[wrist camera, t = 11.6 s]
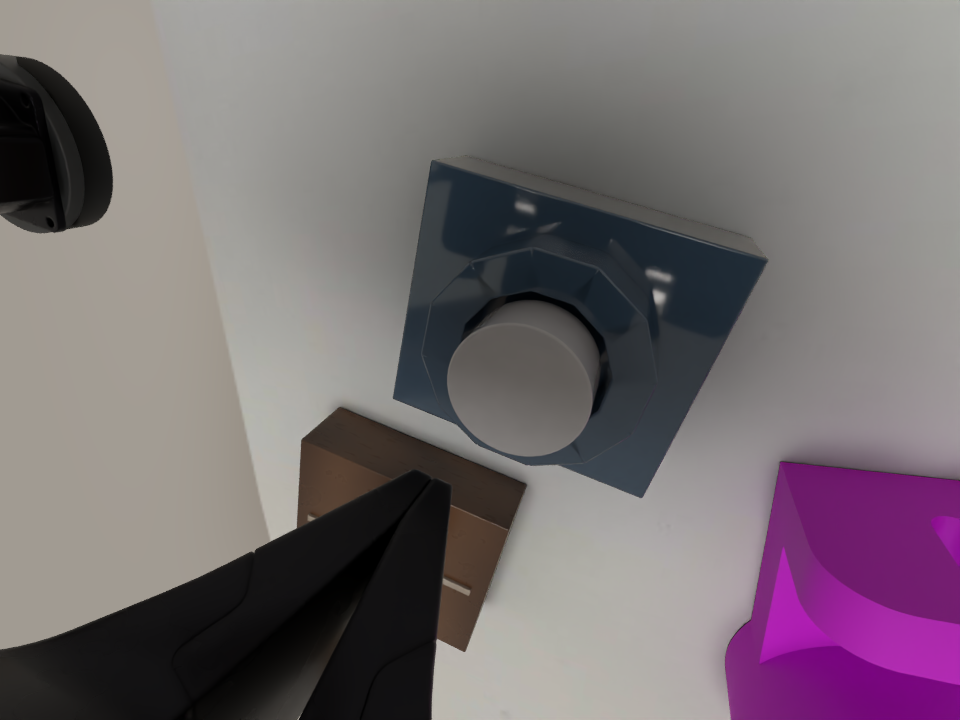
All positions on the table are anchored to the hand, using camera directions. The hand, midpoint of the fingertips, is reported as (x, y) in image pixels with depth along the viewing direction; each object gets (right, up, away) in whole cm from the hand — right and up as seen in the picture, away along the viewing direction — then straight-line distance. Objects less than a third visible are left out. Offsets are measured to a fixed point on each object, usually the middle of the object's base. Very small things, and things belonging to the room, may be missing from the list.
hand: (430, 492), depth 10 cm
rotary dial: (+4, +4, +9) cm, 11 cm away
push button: (+3, +2, +5) cm, 6 cm away
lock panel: (-2, -5, +16) cm, 17 cm away
